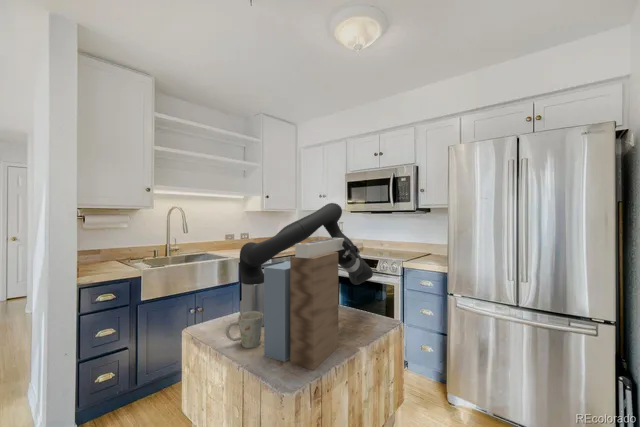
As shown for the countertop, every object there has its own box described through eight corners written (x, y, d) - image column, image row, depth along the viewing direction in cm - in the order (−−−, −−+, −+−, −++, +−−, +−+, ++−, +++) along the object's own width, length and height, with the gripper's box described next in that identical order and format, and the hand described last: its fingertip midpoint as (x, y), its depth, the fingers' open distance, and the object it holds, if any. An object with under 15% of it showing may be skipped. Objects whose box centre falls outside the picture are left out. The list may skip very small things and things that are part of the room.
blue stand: (264, 356, 92) (264, 267, 93) (293, 336, 107) (293, 260, 108) (285, 362, 89) (284, 269, 89) (312, 340, 104) (312, 261, 104)
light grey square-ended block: (295, 257, 87) (295, 242, 87) (333, 248, 110) (333, 237, 110) (308, 258, 85) (308, 243, 85) (344, 249, 108) (344, 237, 108)
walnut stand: (290, 363, 88) (290, 256, 88) (317, 341, 103) (317, 250, 103) (313, 370, 84) (313, 258, 84) (338, 346, 99) (338, 252, 99)
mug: (264, 348, 98) (264, 318, 98) (224, 353, 95) (224, 322, 95) (261, 338, 106) (261, 310, 106) (225, 342, 103) (225, 313, 103)
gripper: (333, 250, 122) (317, 232, 109) (366, 252, 115) (353, 233, 103) (329, 267, 118) (312, 250, 106) (363, 270, 111) (348, 253, 99)
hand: (332, 242), depth 104 cm, fingers open, 8 cm apart
